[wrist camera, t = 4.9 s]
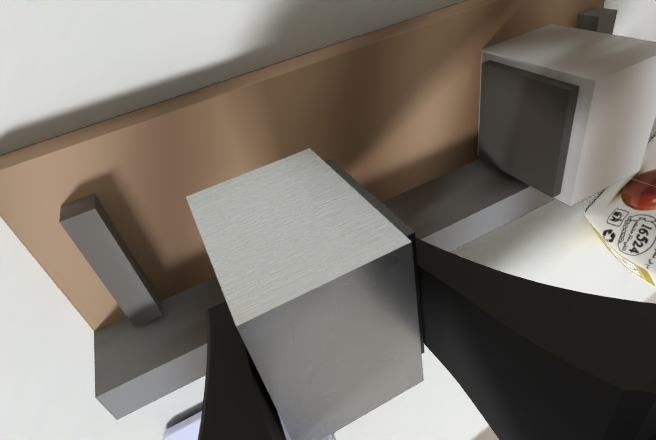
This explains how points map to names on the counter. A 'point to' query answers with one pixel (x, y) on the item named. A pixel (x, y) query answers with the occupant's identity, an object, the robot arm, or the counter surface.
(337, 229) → the matte gray brick
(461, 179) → the rail
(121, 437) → the counter surface
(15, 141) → the counter surface
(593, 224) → the juice carton
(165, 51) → the counter surface
